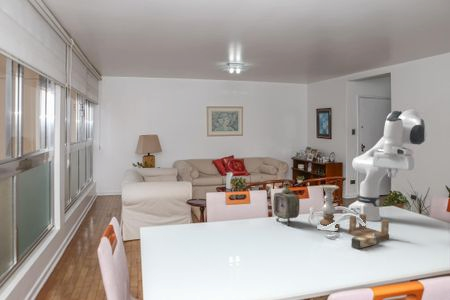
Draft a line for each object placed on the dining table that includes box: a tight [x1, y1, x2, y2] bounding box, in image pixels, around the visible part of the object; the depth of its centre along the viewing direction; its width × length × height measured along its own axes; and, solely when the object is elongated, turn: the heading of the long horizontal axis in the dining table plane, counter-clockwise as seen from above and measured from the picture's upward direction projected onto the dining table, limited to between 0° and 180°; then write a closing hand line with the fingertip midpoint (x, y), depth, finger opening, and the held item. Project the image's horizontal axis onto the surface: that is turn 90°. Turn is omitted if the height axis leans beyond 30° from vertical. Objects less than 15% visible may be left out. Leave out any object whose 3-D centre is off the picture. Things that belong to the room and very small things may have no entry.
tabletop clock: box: [273, 180, 300, 226], centre depth 193 cm, size 14×9×25 cm, turn 25°
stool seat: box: [347, 214, 390, 242], centre depth 170 cm, size 16×11×9 cm
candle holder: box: [319, 184, 341, 229], centre depth 183 cm, size 11×11×24 cm
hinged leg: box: [350, 235, 380, 250], centre depth 155 cm, size 15×4×4 cm, turn 120°
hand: (391, 177), depth 167 cm, fingers closed
